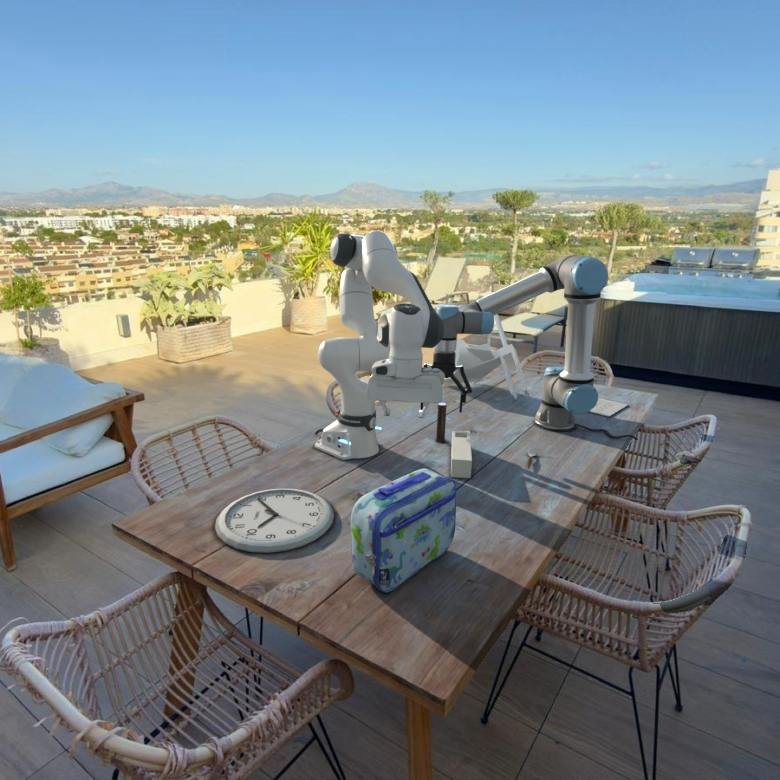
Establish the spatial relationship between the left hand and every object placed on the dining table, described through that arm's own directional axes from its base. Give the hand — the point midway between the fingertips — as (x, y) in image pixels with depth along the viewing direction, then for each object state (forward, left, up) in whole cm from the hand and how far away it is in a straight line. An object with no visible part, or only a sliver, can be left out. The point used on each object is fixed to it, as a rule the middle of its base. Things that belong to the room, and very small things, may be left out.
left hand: (404, 416), depth 142 cm
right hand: (-8, +42, -12) cm, 44 cm away
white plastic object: (-18, +104, -24) cm, 109 cm away
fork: (+24, +43, -24) cm, 55 cm away
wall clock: (-22, -28, -24) cm, 43 cm away
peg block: (+5, +30, -24) cm, 39 cm away
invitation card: (+34, +115, -24) cm, 122 cm away
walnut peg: (-8, +42, -24) cm, 49 cm away
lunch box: (+17, -28, -24) cm, 40 cm away
